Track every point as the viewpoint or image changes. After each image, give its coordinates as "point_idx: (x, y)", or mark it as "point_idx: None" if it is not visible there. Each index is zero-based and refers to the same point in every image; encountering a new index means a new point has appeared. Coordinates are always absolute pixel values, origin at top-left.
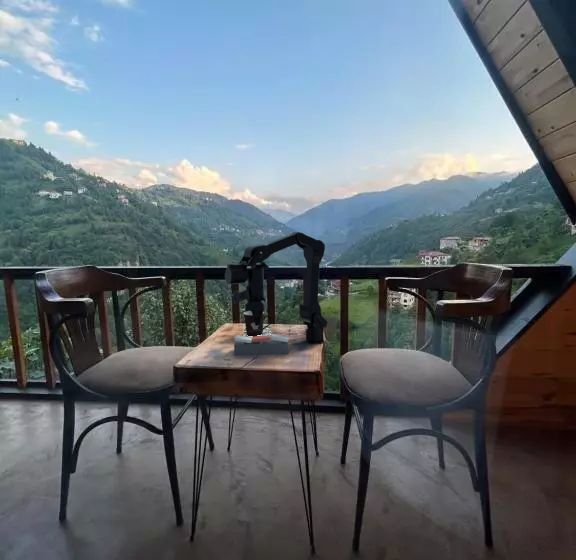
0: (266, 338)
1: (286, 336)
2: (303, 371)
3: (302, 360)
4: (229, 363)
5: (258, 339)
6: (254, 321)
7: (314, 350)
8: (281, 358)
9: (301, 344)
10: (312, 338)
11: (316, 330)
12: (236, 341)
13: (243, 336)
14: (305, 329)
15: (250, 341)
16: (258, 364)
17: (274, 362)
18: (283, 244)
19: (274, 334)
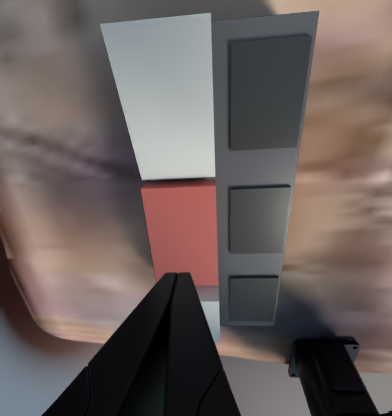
0: (154, 269)
1: (219, 338)
2: (33, 313)
3: (120, 316)
4: (14, 42)
5: (148, 225)
6: (135, 308)
7: (217, 346)
8: (131, 266)
9: (292, 323)
10: (304, 367)
11: (311, 413)
12: (212, 34)
13: (203, 108)
14: (361, 386)
15: (142, 170)
16: (47, 194)
17: (84, 246)
18: None
19: (213, 309)
